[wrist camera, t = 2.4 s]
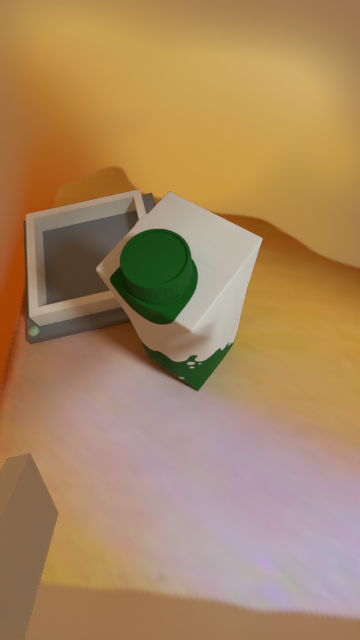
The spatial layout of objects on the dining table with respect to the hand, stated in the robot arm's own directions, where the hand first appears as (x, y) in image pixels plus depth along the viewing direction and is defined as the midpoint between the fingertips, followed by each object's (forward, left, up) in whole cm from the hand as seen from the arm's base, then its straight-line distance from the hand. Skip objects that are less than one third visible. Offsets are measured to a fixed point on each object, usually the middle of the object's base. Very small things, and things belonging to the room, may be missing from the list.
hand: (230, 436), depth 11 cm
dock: (+8, -25, -23) cm, 35 cm away
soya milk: (-1, -11, -23) cm, 26 cm away
